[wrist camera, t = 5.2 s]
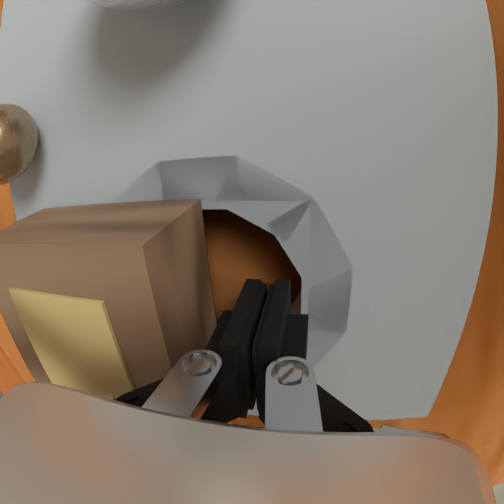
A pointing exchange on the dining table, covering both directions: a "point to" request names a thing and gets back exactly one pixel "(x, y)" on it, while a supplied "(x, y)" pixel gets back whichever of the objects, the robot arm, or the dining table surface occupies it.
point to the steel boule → (135, 4)
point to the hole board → (288, 153)
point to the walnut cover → (107, 292)
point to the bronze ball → (16, 142)
